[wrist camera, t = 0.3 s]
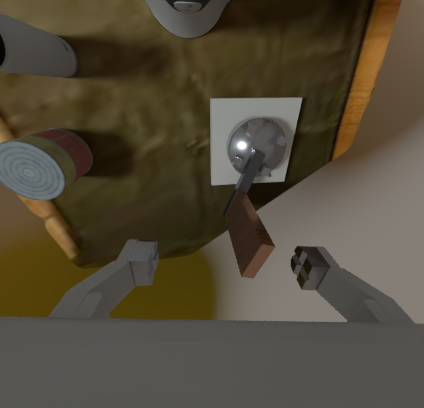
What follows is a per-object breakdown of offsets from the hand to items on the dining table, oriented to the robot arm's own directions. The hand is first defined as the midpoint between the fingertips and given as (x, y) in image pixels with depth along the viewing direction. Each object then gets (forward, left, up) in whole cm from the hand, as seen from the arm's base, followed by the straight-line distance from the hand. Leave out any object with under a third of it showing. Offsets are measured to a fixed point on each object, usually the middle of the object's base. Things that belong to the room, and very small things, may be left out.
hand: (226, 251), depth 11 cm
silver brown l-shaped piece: (+9, +11, -36) cm, 39 cm away
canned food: (+5, -31, -39) cm, 50 cm away
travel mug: (-13, -25, -39) cm, 48 cm away
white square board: (+4, +13, -39) cm, 41 cm away
